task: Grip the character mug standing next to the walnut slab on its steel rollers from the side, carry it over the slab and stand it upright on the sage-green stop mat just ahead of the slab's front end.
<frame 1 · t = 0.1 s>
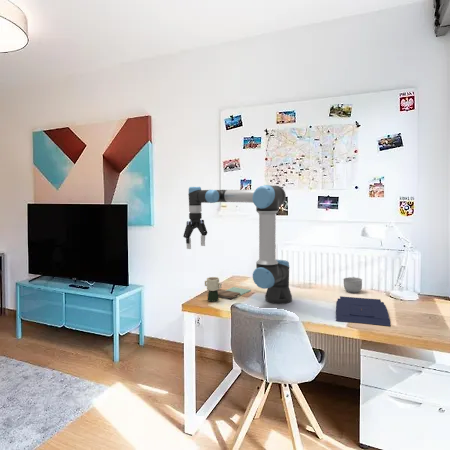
hand: (196, 247, 222), 28 cm above the table, fingers open, 13 cm apart
folded navy cloth: (361, 314, 184), on the table
teacup: (353, 291, 225), on the table
stop mat: (237, 291, 225), on the table
character mug: (213, 301, 207), on the table
walnut slab: (224, 295, 216), on the table
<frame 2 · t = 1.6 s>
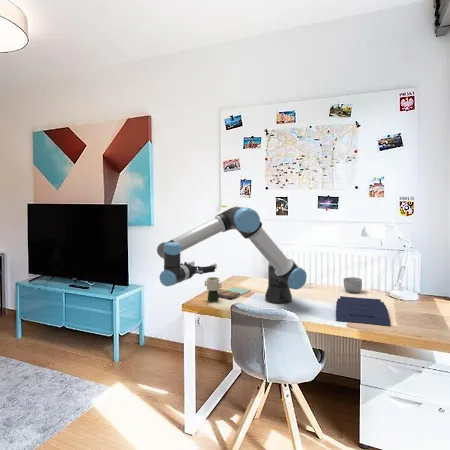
hand: (204, 264, 197), 22 cm above the table, fingers open, 13 cm apart
nothing on the table moved.
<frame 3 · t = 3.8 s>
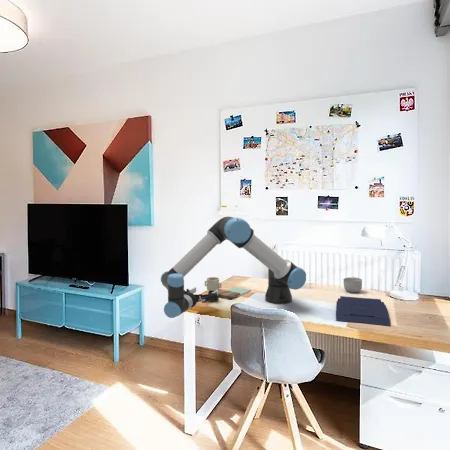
hand: (206, 290, 199), 8 cm above the table, fingers open, 13 cm apart
nothing on the table moved.
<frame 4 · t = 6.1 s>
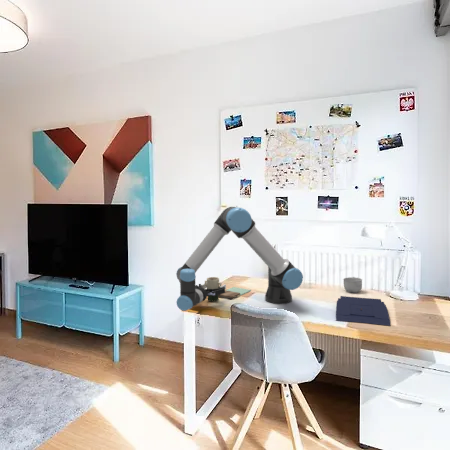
hand: (216, 285, 210), 8 cm above the table, fingers closed on character mug, 11 cm apart
character mug: (213, 301, 207), on the table, touching gripper
everything else where it was.
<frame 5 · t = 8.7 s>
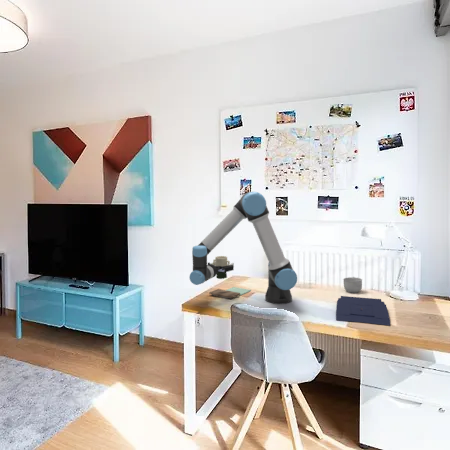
hand: (224, 264, 219), 18 cm above the table, fingers closed on character mug, 11 cm apart
character mug: (221, 279, 216), point 10 cm above the table, touching gripper
everything else where it was.
when the fingers open (10 cm above the table, at t = 11.6 s): character mug drops 1 cm, resting on stop mat.
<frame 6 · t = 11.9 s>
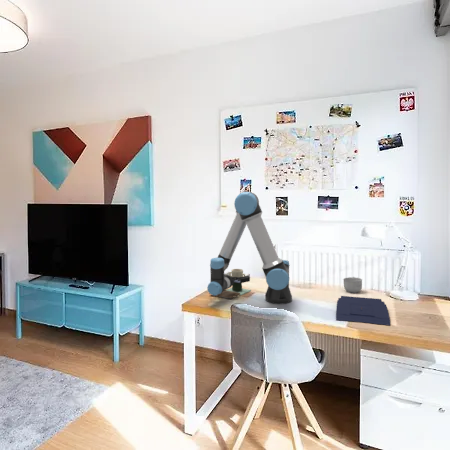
hand: (239, 274, 227), 10 cm above the table, fingers open, 13 cm apart
character mug: (237, 290, 225), resting on stop mat
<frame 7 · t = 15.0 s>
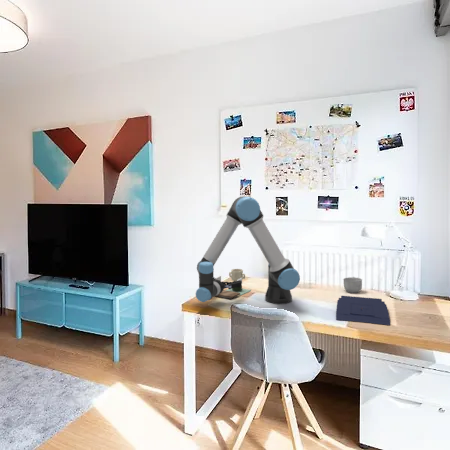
hand: (230, 279, 216), 10 cm above the table, fingers open, 13 cm apart
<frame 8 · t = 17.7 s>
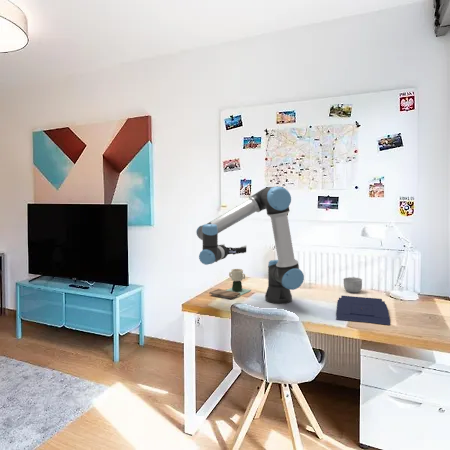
hand: (234, 246, 209), 30 cm above the table, fingers open, 13 cm apart
at the end: character mug inside the target area on the stop mat (0.1 cm from its centre), point 0.4 cm above the stop mat's base; character mug tilted 0°; the gripper is holding nothing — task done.
